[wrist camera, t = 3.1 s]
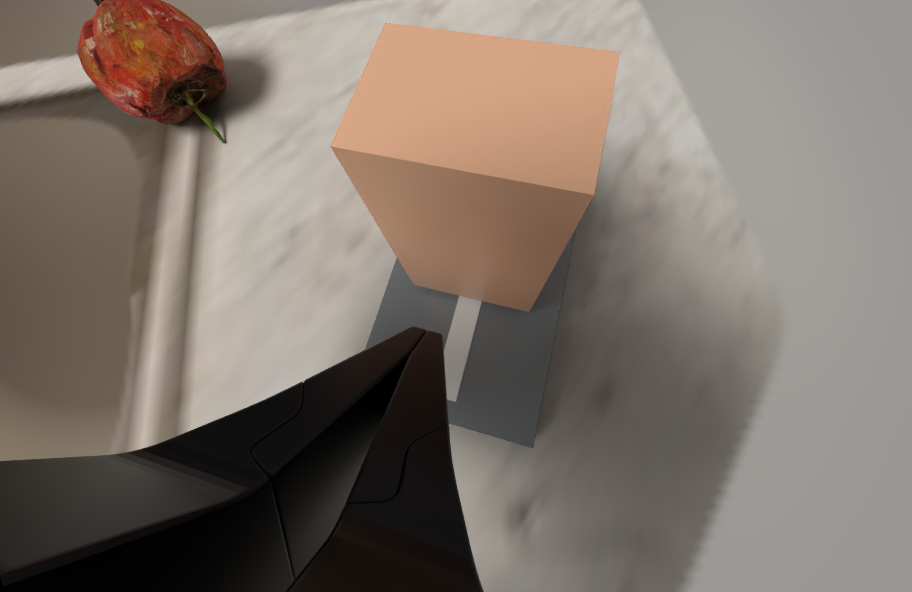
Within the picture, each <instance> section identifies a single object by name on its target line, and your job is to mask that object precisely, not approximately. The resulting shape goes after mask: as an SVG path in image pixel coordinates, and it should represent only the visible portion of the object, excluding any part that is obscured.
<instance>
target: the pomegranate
mask: <svg viewBox="0 0 912 592" xmlns="http://www.w3.org/2000/svg"><path fill="white" fill-rule="evenodd" d="M94 1H95V2H96V4H97V6H98V8H97V11H96V14H95V16H94V17H93V18H91V19H89V20H88V21H87V22H85V23H84V25H83V28H82V31H81V35H80V40H79V43H78V48H77V53H78V55H79V58H80V61H81V64H82V66H83V69H84V71H85V72H86V74H87V75H88V76H89V78H90V79H91V80H92V82H93V83H94V84H95V85H96V86H97V87H98V88H99V89H100V90H101V91H102V92H103V94H104V95H105V96H106V97H107V98H108V99H109V100H110V101H112V102H113V103H114V104H115V105H116V106H117V107H119V108H120V109H121V110H123V111H124V112H126V113H128V114H131V115H134V116H137V117H139V118H147V119H151V120H155V121H157V122H160V123H165V124H177V123H179V122H181V121H183V120H185V119H186V118H188V116H189V115H190V114H192V113H193V112H194V111H195V112H196V113H197V114H198V116H199V117H200V118H201V119H202V120H203V121H204V122H205V123H206V124H207V125H208V126H209V128H210V129H211V130H212V131H213V132H214V133H215V135H216V136H217V137H218V138H219V139H220V140H221V141H222V142H223V143H225V141H224V140H223V138H222V137H221V135H220V133H219V132H218V131H217V130H216V129H215V128H214V127H213V124H212V122H211V120H210V118H208V117H207V116H205V115H204V114H202V113H201V112H200V111H199V109H198V108H197V106H198V105H199V104H200V103H202V102H205V101H211V100H213V99H214V98H215V97H216V96H217V95H218V94H219V93H221V92H222V91H223V90H224V89H225V87H226V77H225V73H224V70H223V59H222V56H221V54H220V52H219V50H218V48H217V46H216V44H215V43H214V42H213V40H212V39H211V38H210V37H209V36H208V34H207V33H206V32H205V31H204V30H203V28H202V27H201V26H199V25H198V24H197V23H196V22H194V21H193V20H192V19H191V18H190V17H188V16H187V15H186V14H184V13H183V12H181V11H180V10H178V9H177V8H175V7H173V6H172V5H169V4H167V3H165V2H163V1H161V0H94Z"/></svg>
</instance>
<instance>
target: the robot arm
mask: <svg viewBox="0 0 912 592" xmlns="http://www.w3.org/2000/svg"><path fill="white" fill-rule="evenodd" d="M448 425H449V421H448V407H447V392H446V377H445V363H444V348H443V335H442V334H441V333H438V332H434V331H430V330H429V331H427V330H426V329H423V328H419V327H415V326H412V327H410V328H408V329H406V330H404V331H402V332H400V333H398V334H396V335H394V336H392V337H390V338H388V339H386V340H384V341H382V342H380V343H378V344H376V345H374V346H372V347H370V348H368V349H366V350H364V351H362V352H360V353H358V354H356V355H354V356H352V357H350V358H348V359H346V360H344V361H342V362H340V363H338V364H336V365H334V366H332V367H330V368H328V369H326V370H324V371H322V372H320V373H318V374H316V375H314V376H312V377H310V378H308V379H306V380H305V381H304V383H303V382H300V383H298V384H296V385H294V386H292V387H290V388H288V389H286V390H284V391H282V392H280V393H278V394H276V395H274V396H271V397H269V398H267V399H265V400H263V401H261V402H258V403H256V404H254V405H251V406H249V407H247V408H244V409H242V410H240V411H237V412H235V413H233V414H230V415H228V416H225V417H223V418H220V419H218V420H215V421H213V422H211V423H208V424H206V425H203V426H201V427H198V428H196V429H193V430H191V431H189V432H186V433H184V434H181V435H179V436H176V437H174V438H171V439H169V440H167V441H164V442H161V443H159V444H156V445H153V446H150V447H146V448H143V449H140V450H135V451H131V452H127V453H120V454H113V455H102V456H84V457H67V458H49V459H31V460H12V461H0V592H484V591H483V589H482V586H481V583H480V580H479V577H478V573H477V570H476V566H475V563H474V559H473V555H472V551H471V547H470V543H469V538H468V534H467V529H466V525H465V520H464V516H463V511H462V507H461V502H460V498H459V493H458V489H457V484H456V479H455V474H454V468H453V463H452V455H451V446H450V434H449V426H448Z"/></svg>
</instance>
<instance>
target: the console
mask: <svg viewBox="0 0 912 592" xmlns="http://www.w3.org/2000/svg"><path fill="white" fill-rule="evenodd" d="M574 234H575V231H574V232H573V234H572V236H571V238H570V240H569V241H568V243H567V245H566V247H565V249H564V250H563V252H562V254H561V256H560V257H559V259H558V261H557V263H556V265H555V266H554V268H553V270H552V272H551V274H550V275H549V277H548V279H547V281H546V283H545V284H544V286H543V288H542V290H541V292H540V293H539V295H538V297H537V299H536V301H535V302H534V304H533V306H532V308H531V310H530V311H529V312H525V311H521V310H517V309H513V308H508V307H504V306H500V305H496V304H492V303H488V302H484V301H479V300H475V299H471V298H467V297H463V296H459V295H454V294H450V293H446V292H442V291H438V290H434V289H429V288H425V287H421V286H417V285H413V283H412V281H411V280H410V278H409V276H408V275H407V273H406V271H405V270H404V268H403V266H402V265H401V263H400V261H399V260H398V258H397V259H396V262H395V265H394V268H393V271H392V273H391V276H390V279H389V282H388V285H387V288H386V291H385V294H384V297H383V300H382V303H381V306H380V308H379V311H378V314H377V317H376V320H375V323H374V326H373V329H372V332H371V335H370V338H369V341H368V343H367V346H366V349H368V348H370V347H372V346H374V345H376V344H378V343H380V342H382V341H384V340H386V339H388V338H390V337H392V336H394V335H396V334H398V333H400V332H402V331H404V330H406V329H408V328H410V327H412V326H415V327H419V328H423V329H426V330H427V331H429V330H430V331H434V332H438V333H441V334H442V335H443V348H444V363H445V377H446V392H447V407H448V421H449V423H450V424H454V425H457V426H460V427H464V428H467V429H471V430H474V431H477V432H481V433H484V434H487V435H491V436H494V437H497V438H501V439H504V440H507V441H511V442H514V443H518V444H521V445H524V446H528V447H531V448H533V446H534V441H535V436H536V430H537V425H538V420H539V415H540V410H541V405H542V399H543V394H544V389H545V384H546V379H547V374H548V368H549V363H550V358H551V353H552V348H553V343H554V337H555V332H556V327H557V322H558V317H559V312H560V306H561V301H562V296H563V291H564V286H565V281H566V275H567V270H568V265H569V260H570V255H571V250H572V244H573V239H574ZM366 349H365V350H366Z"/></svg>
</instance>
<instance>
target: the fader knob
mask: <svg viewBox="0 0 912 592" xmlns="http://www.w3.org/2000/svg"><path fill="white" fill-rule="evenodd" d="M619 56H620V52H616V51H608V50H600V49H592V48H584V47H576V46H568V45H560V44H552V43H544V42H536V41H527V40H519V39H511V38H503V37H495V36H487V35H479V34H471V33H463V32H455V31H447V30H439V29H431V28H423V27H415V26H407V25H399V24H391V23H385V24H384V26H383V29H382V31H381V33H380V35H379V38H378V40H377V42H376V44H375V47H374V49H373V51H372V53H371V56H370V58H369V60H368V62H367V65H366V67H365V69H364V71H363V74H362V76H361V78H360V80H359V83H358V85H357V87H356V90H355V92H354V94H353V96H352V99H351V101H350V103H349V105H348V108H347V110H346V112H345V114H344V117H343V119H342V121H341V123H340V126H339V128H338V130H337V132H336V135H335V137H334V139H333V141H332V144H331V146H330V147H331V148H332V150H333V152H334V153H335V155H336V157H337V158H338V160H339V162H340V163H341V165H342V167H343V168H344V170H345V172H346V173H347V175H348V177H349V178H350V180H351V182H352V183H353V185H354V187H355V188H356V190H357V192H358V193H359V195H360V197H361V198H362V200H363V202H364V203H365V205H366V207H367V208H368V210H369V211H370V213H371V215H372V216H373V218H374V220H375V221H376V223H377V225H378V226H379V228H380V230H381V231H382V233H383V235H384V236H385V238H386V240H387V241H388V243H389V245H390V246H391V248H392V250H393V251H394V253H395V255H396V256H397V258H398V260H399V261H400V263H401V265H402V266H403V268H404V270H405V271H406V273H407V275H408V276H409V278H410V280H411V281H412V283H413V285H417V286H421V287H425V288H429V289H434V290H438V291H442V292H446V293H450V294H454V295H459V296H463V297H467V298H471V299H475V300H479V301H484V302H488V303H492V304H496V305H500V306H504V307H508V308H513V309H517V310H521V311H525V312H529V311H530V310H531V308H532V306H533V304H534V302H535V301H536V299H537V297H538V295H539V293H540V292H541V290H542V288H543V286H544V284H545V283H546V281H547V279H548V277H549V275H550V274H551V272H552V270H553V268H554V266H555V265H556V263H557V261H558V259H559V257H560V256H561V254H562V252H563V250H564V249H565V247H566V245H567V243H568V241H569V240H570V238H571V236H572V234H573V232H574V231H575V229H576V227H577V225H578V223H579V222H580V220H581V218H582V216H583V214H584V213H585V211H586V209H587V207H588V205H589V204H590V202H591V200H592V198H593V196H594V194H595V188H596V183H597V177H598V172H599V166H600V161H601V155H602V150H603V144H604V139H605V133H606V128H607V122H608V117H609V111H610V106H611V100H612V95H613V89H614V84H615V78H616V73H617V67H618V62H619Z"/></svg>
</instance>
